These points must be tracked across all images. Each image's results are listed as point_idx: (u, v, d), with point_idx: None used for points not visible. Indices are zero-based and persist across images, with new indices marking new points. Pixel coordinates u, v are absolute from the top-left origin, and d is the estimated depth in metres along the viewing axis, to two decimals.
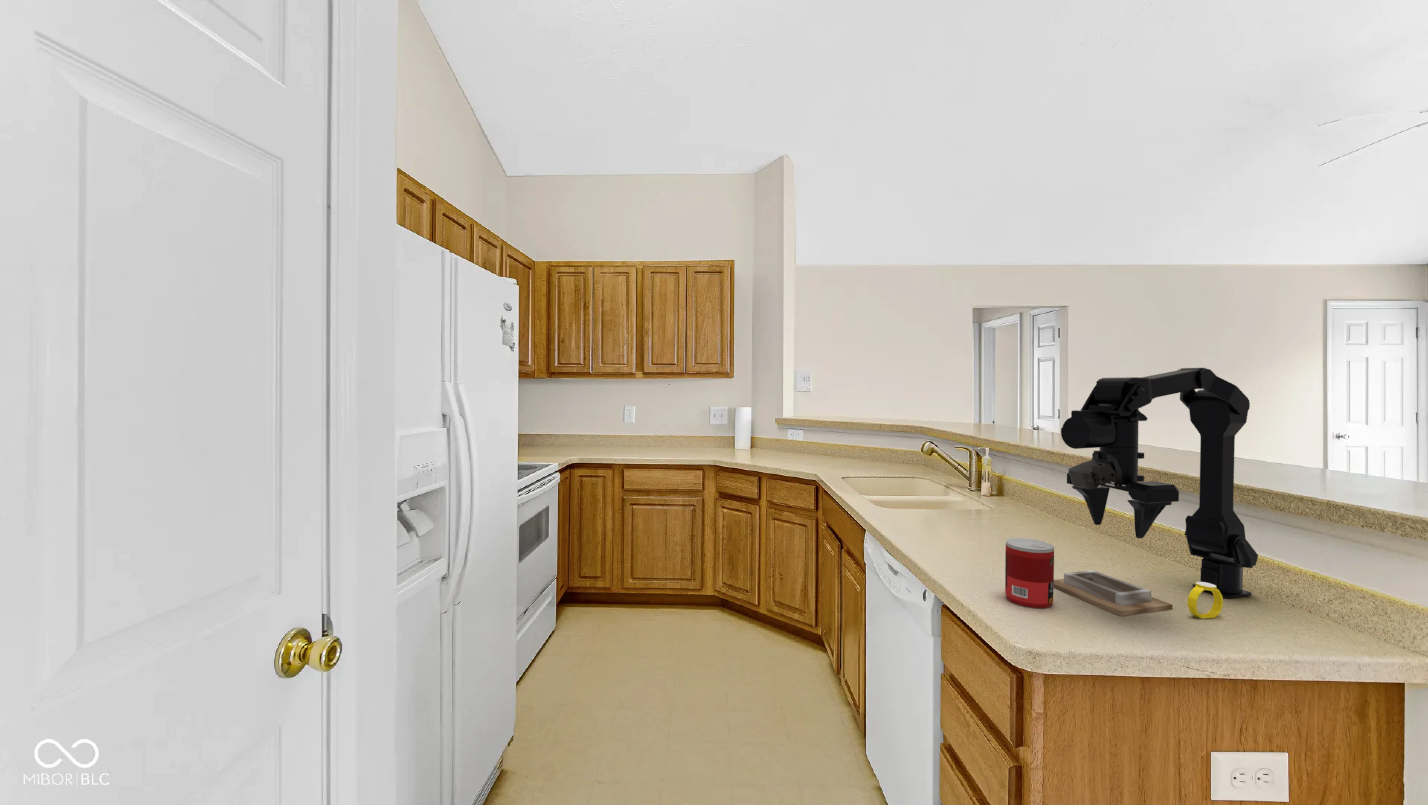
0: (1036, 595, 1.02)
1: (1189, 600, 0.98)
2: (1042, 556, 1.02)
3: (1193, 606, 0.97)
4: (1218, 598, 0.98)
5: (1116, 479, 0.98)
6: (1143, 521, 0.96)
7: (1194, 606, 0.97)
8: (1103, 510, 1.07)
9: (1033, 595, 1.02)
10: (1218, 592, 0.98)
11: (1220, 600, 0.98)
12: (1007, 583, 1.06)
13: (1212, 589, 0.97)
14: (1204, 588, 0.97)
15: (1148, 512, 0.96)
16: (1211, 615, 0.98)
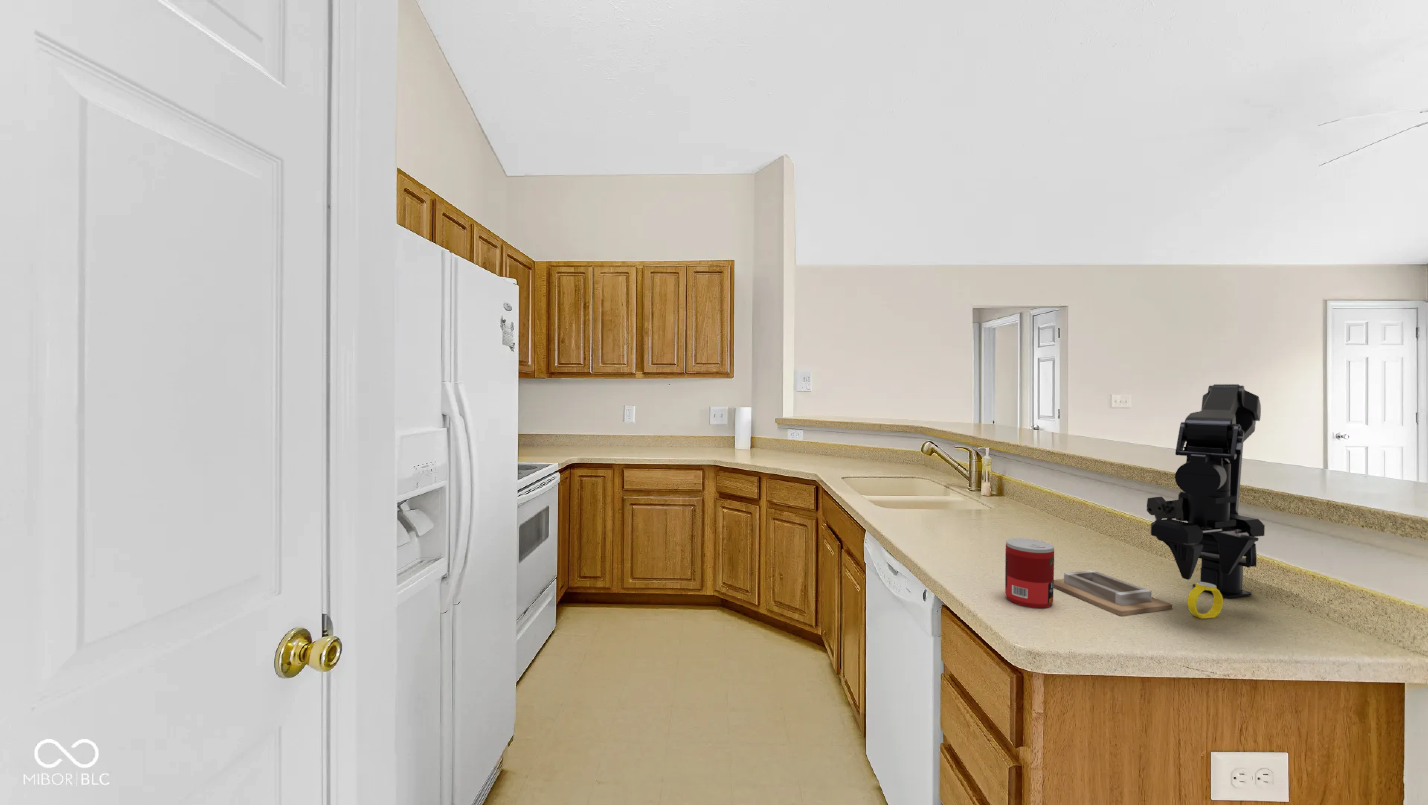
0: (1036, 595, 1.02)
1: (1189, 600, 0.98)
2: (1042, 556, 1.02)
3: (1193, 606, 0.97)
4: (1218, 598, 0.98)
5: (1176, 516, 1.00)
6: (1179, 560, 0.97)
7: (1194, 606, 0.97)
8: (1233, 560, 0.98)
9: (1033, 595, 1.02)
10: (1218, 592, 0.98)
11: (1220, 600, 0.98)
12: (1007, 583, 1.06)
13: (1212, 589, 0.97)
14: (1204, 588, 0.97)
15: (1184, 553, 0.96)
16: (1211, 615, 0.98)
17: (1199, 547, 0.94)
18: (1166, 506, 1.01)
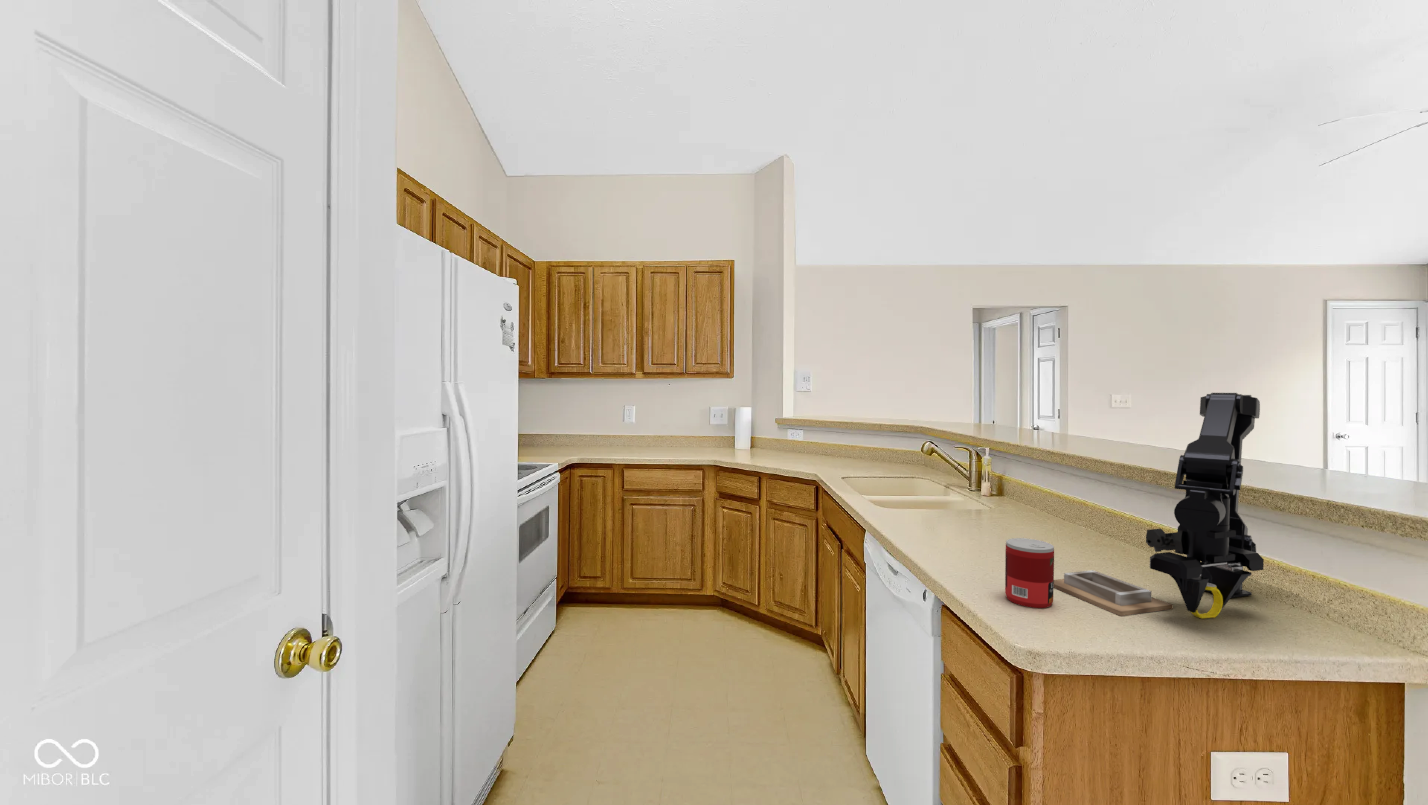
0: (1036, 595, 1.02)
1: None
2: (1042, 556, 1.02)
3: None
4: (1218, 598, 0.98)
5: (1175, 549, 1.00)
6: (1184, 593, 0.97)
7: None
8: (1226, 595, 0.98)
9: (1033, 595, 1.02)
10: (1218, 592, 0.98)
11: (1220, 600, 0.98)
12: (1007, 583, 1.06)
13: (1212, 589, 0.97)
14: None
15: (1189, 586, 0.96)
16: (1211, 615, 0.98)
17: (1205, 581, 0.94)
18: (1165, 538, 1.01)
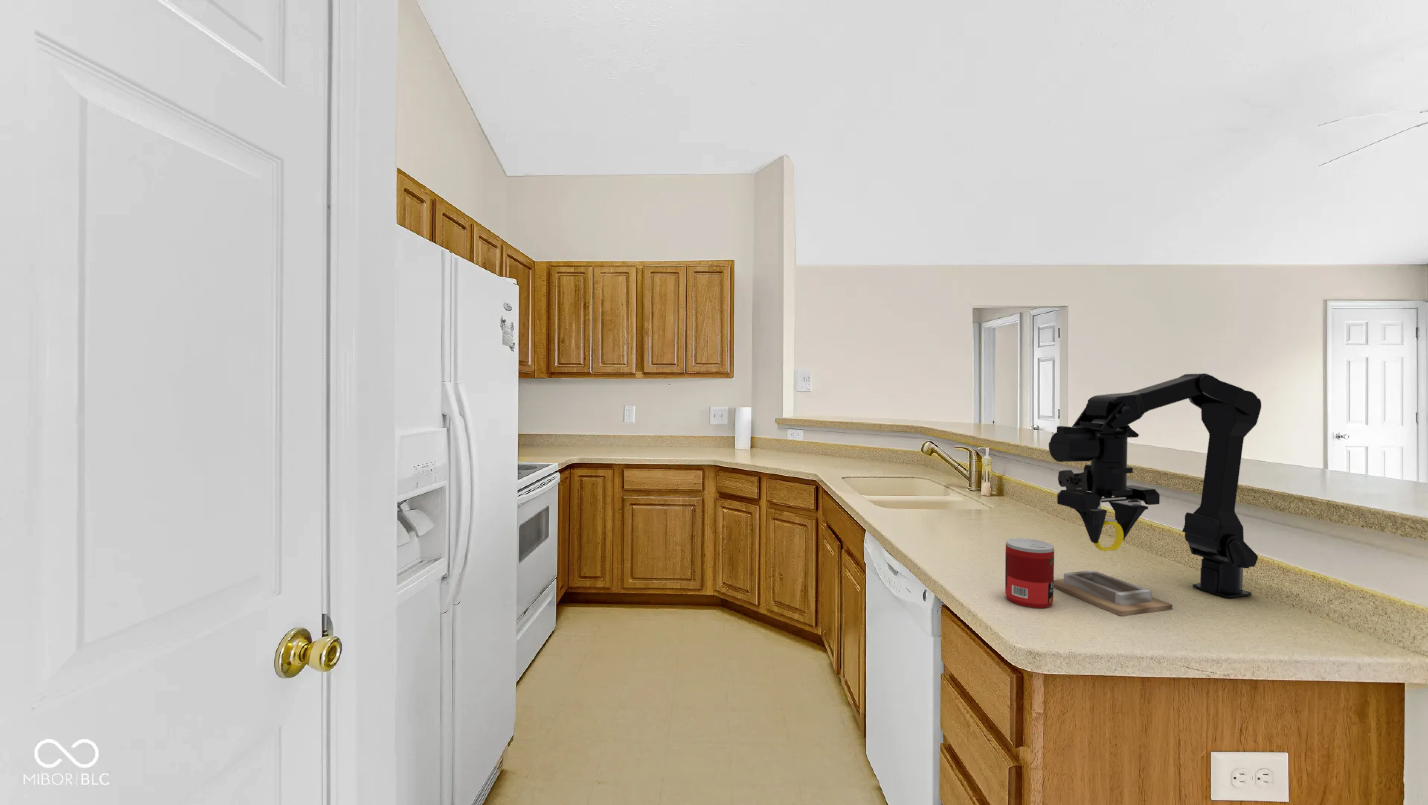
0: (1036, 595, 1.02)
1: None
2: (1042, 556, 1.02)
3: None
4: (1119, 532, 1.08)
5: (1082, 487, 1.09)
6: (1087, 525, 1.07)
7: None
8: (1126, 527, 1.07)
9: (1033, 595, 1.02)
10: (1119, 527, 1.07)
11: (1121, 534, 1.07)
12: (1007, 583, 1.06)
13: (1113, 523, 1.06)
14: (1106, 523, 1.06)
15: (1092, 519, 1.06)
16: (1113, 548, 1.07)
17: (1103, 513, 1.03)
18: (1073, 478, 1.10)
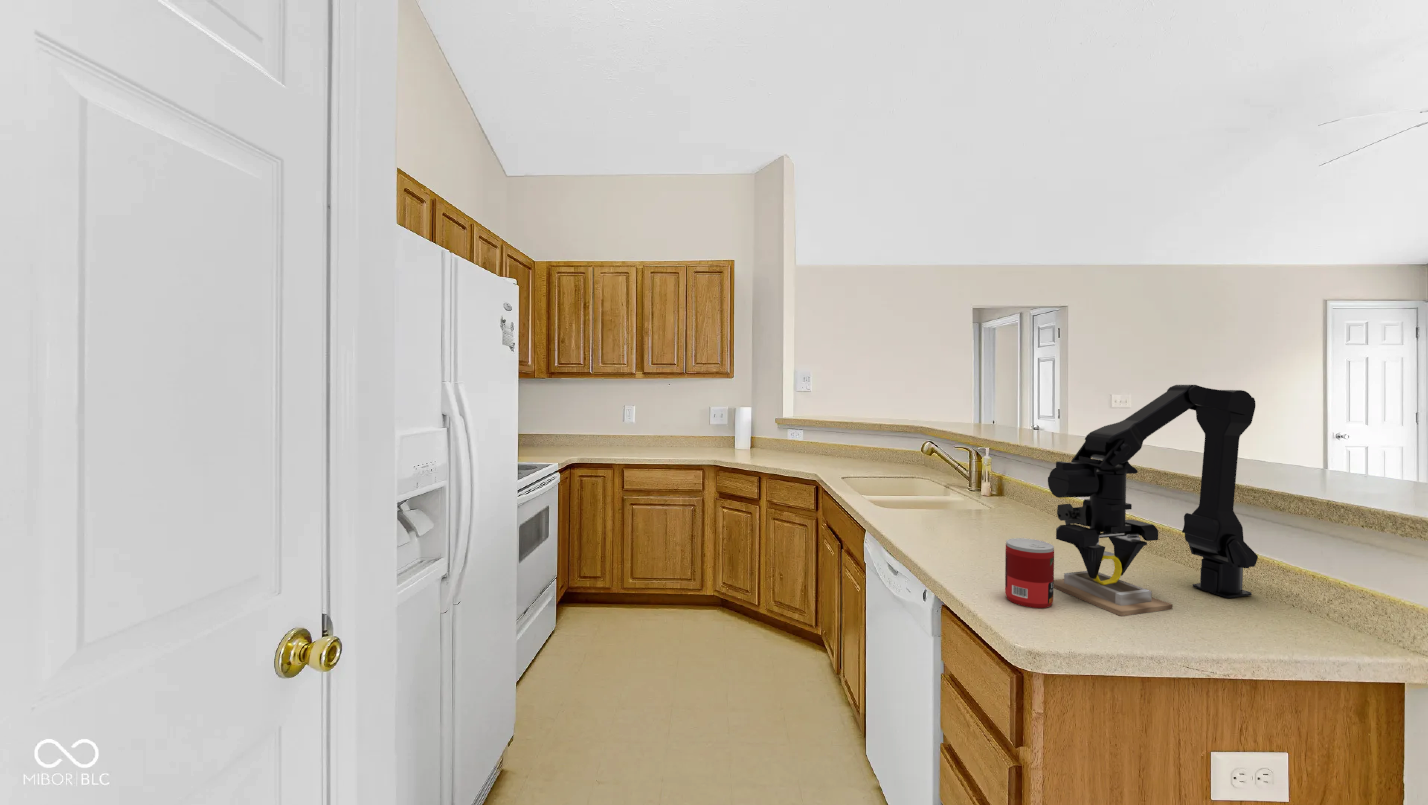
0: (1036, 595, 1.02)
1: None
2: (1042, 556, 1.02)
3: None
4: (1118, 565, 1.08)
5: (1081, 521, 1.10)
6: (1086, 561, 1.07)
7: None
8: (1125, 563, 1.07)
9: (1033, 595, 1.02)
10: (1117, 559, 1.07)
11: (1119, 566, 1.08)
12: (1007, 583, 1.06)
13: (1110, 557, 1.06)
14: (1103, 557, 1.06)
15: (1090, 554, 1.06)
16: (1112, 581, 1.07)
17: (1102, 549, 1.04)
18: (1072, 512, 1.11)
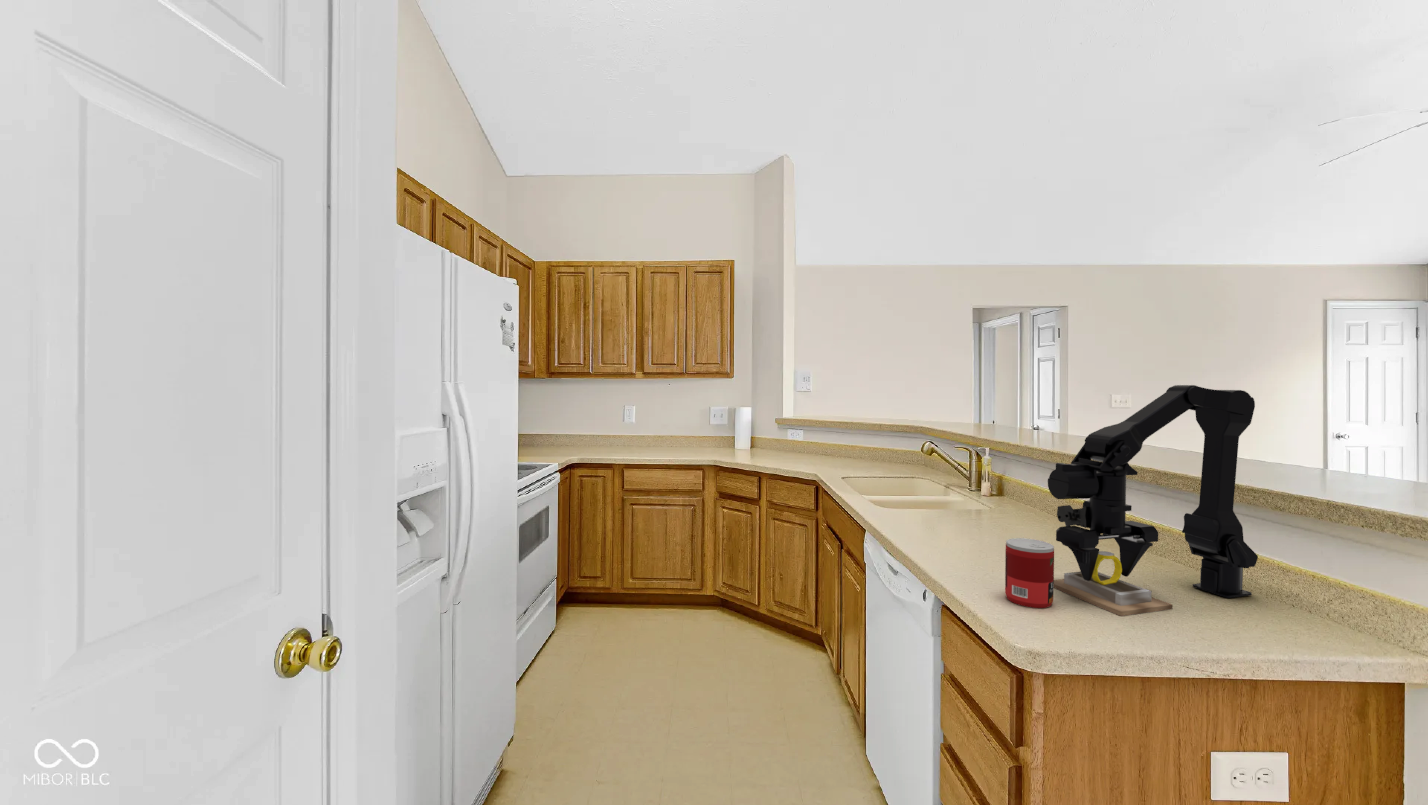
0: (1036, 595, 1.02)
1: None
2: (1042, 556, 1.02)
3: (1095, 575, 1.07)
4: (1118, 565, 1.08)
5: (1081, 523, 1.10)
6: (1080, 563, 1.07)
7: (1096, 574, 1.06)
8: (1130, 564, 1.08)
9: (1033, 595, 1.02)
10: (1117, 559, 1.07)
11: (1119, 566, 1.08)
12: (1007, 583, 1.06)
13: (1110, 557, 1.06)
14: (1103, 557, 1.06)
15: (1084, 556, 1.06)
16: (1112, 581, 1.07)
17: (1096, 551, 1.03)
18: (1072, 514, 1.11)
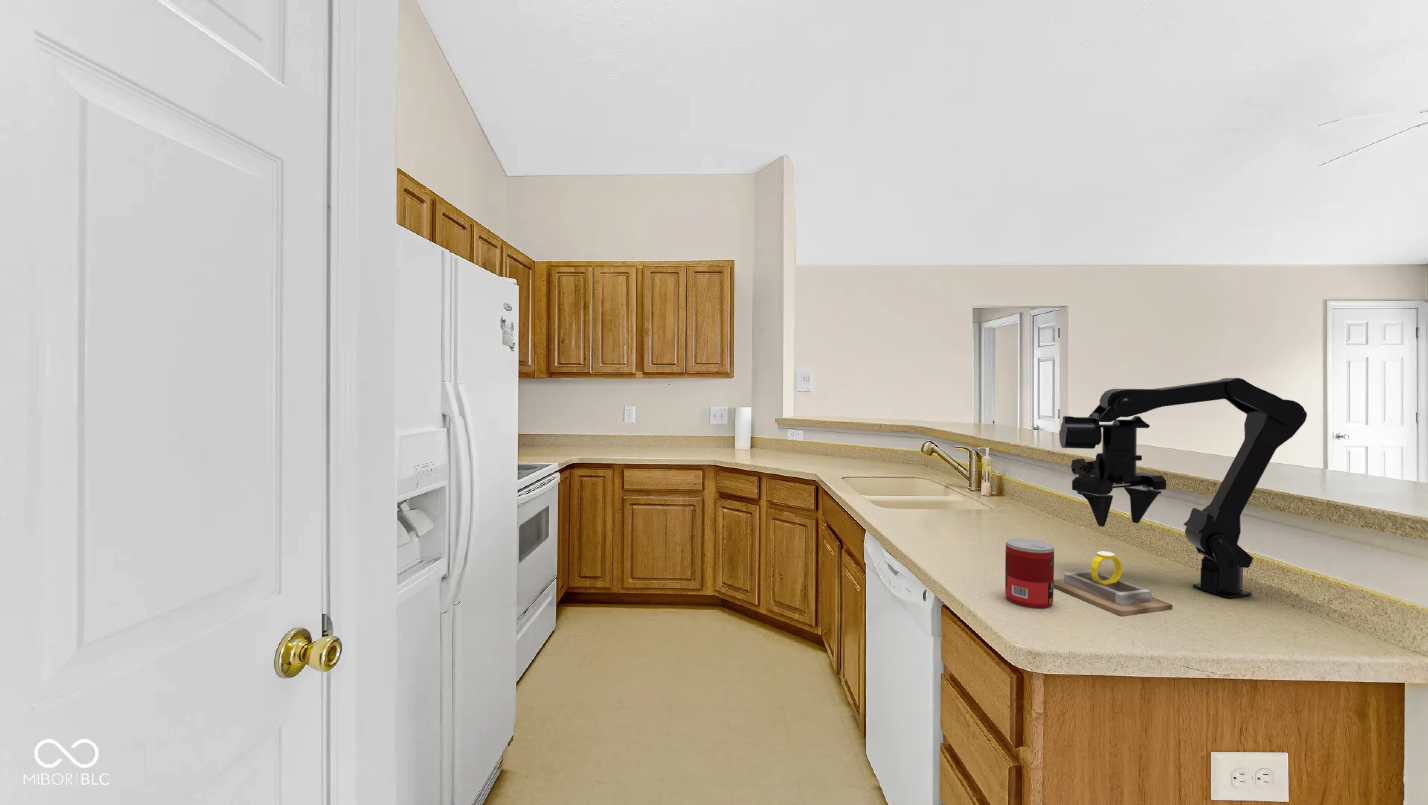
0: (1036, 595, 1.02)
1: (1091, 569, 1.07)
2: (1042, 556, 1.02)
3: (1095, 575, 1.07)
4: (1118, 565, 1.08)
5: (1094, 474, 1.17)
6: (1095, 510, 1.14)
7: (1096, 574, 1.06)
8: (1141, 511, 1.15)
9: (1033, 595, 1.02)
10: (1117, 559, 1.07)
11: (1119, 566, 1.08)
12: (1007, 583, 1.06)
13: (1110, 557, 1.06)
14: (1103, 557, 1.06)
15: (1099, 504, 1.13)
16: (1112, 581, 1.07)
17: (1110, 498, 1.11)
18: (1086, 466, 1.18)
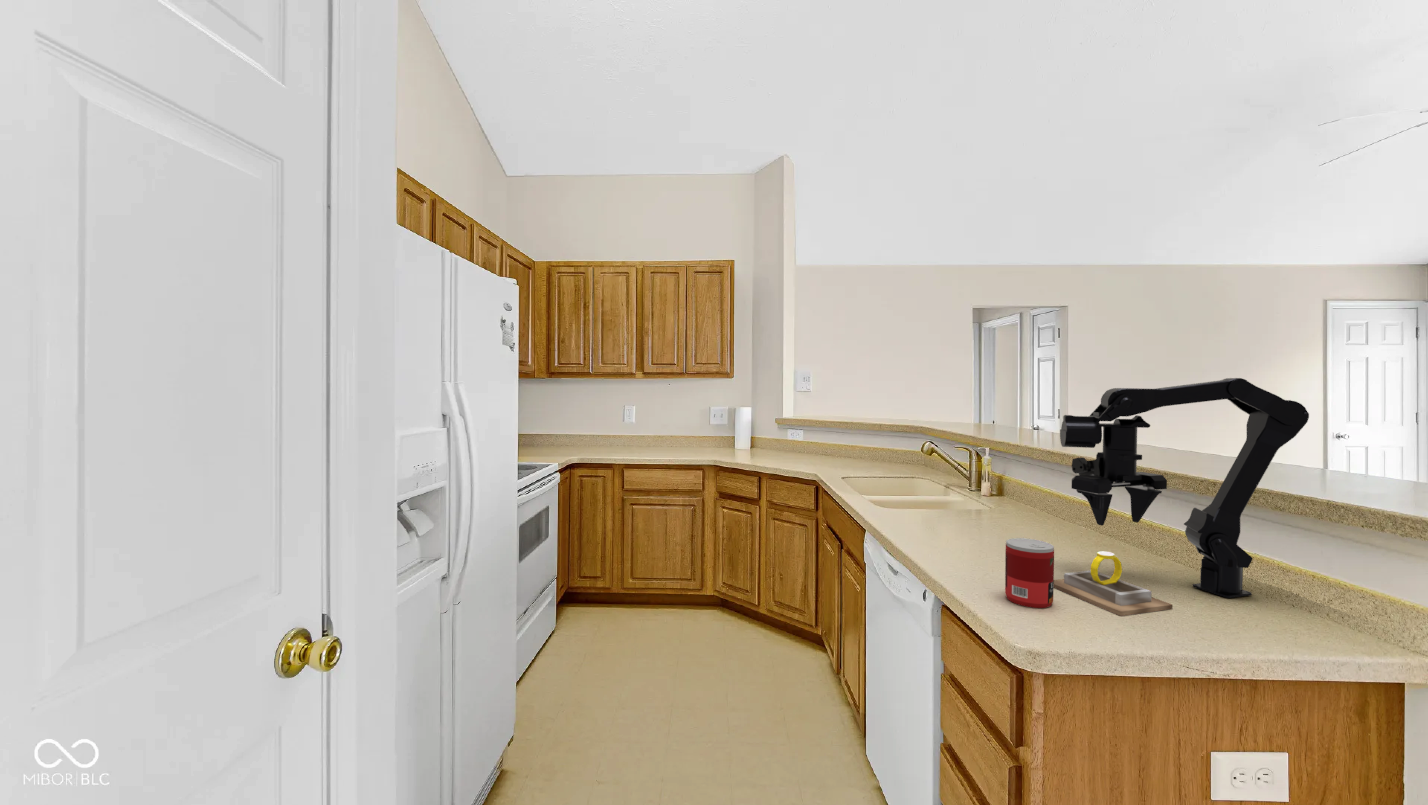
0: (1036, 595, 1.02)
1: (1091, 569, 1.07)
2: (1042, 556, 1.02)
3: (1095, 575, 1.07)
4: (1118, 565, 1.08)
5: (1094, 473, 1.18)
6: (1094, 509, 1.15)
7: (1096, 574, 1.06)
8: (1141, 510, 1.16)
9: (1033, 595, 1.02)
10: (1117, 559, 1.07)
11: (1119, 566, 1.08)
12: (1007, 583, 1.06)
13: (1110, 557, 1.06)
14: (1103, 557, 1.06)
15: (1098, 502, 1.14)
16: (1112, 581, 1.07)
17: (1109, 497, 1.11)
18: (1086, 465, 1.19)
